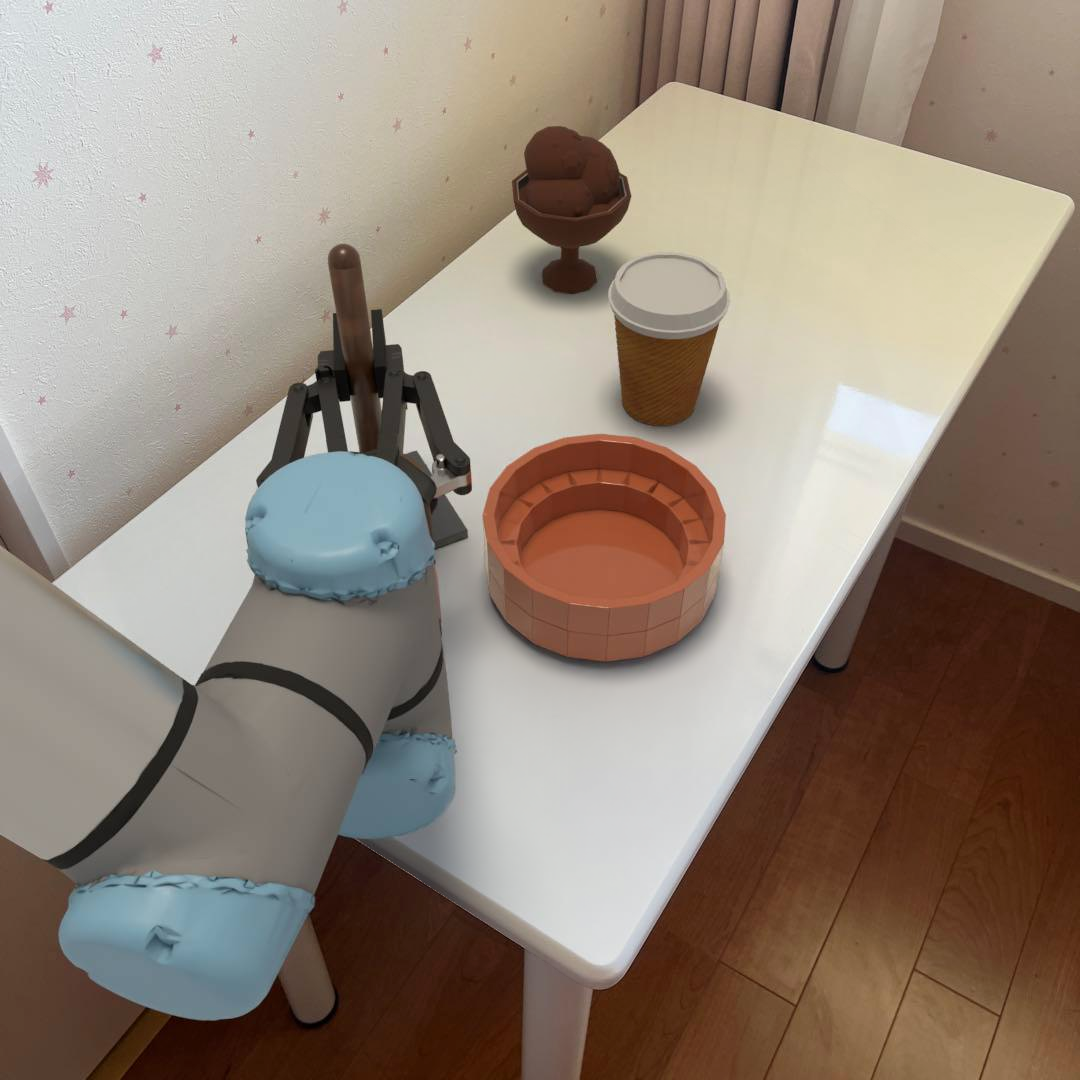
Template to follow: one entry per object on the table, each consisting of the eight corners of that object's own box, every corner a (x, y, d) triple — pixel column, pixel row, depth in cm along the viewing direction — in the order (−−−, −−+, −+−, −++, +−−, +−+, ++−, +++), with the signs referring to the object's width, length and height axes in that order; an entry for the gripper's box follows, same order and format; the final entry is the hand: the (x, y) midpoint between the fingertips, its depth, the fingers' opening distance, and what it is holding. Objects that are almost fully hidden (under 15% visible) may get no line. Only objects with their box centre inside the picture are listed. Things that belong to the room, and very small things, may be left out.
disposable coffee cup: (720, 439, 91) (739, 318, 82) (604, 439, 91) (611, 318, 82) (708, 367, 97) (724, 248, 89) (600, 367, 98) (606, 248, 89)
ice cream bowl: (565, 324, 102) (567, 174, 91) (491, 272, 108) (484, 125, 97) (648, 282, 106) (660, 134, 95) (573, 234, 112) (576, 89, 101)
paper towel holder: (355, 554, 81) (305, 290, 64) (323, 495, 86) (269, 232, 69) (442, 523, 83) (416, 259, 67) (407, 467, 88) (374, 205, 71)
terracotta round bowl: (552, 703, 73) (552, 643, 68) (451, 540, 83) (445, 477, 79) (759, 614, 78) (773, 553, 74) (640, 471, 88) (646, 408, 84)
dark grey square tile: (343, 582, 80) (342, 575, 80) (299, 496, 87) (297, 489, 86) (468, 536, 84) (467, 529, 83) (417, 457, 90) (416, 449, 89)
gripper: (249, 627, 65) (262, 377, 81) (503, 600, 66) (467, 359, 82) (222, 540, 59) (242, 291, 75) (499, 512, 61) (461, 273, 77)
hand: (359, 327), depth 79 cm, fingers closed on paper towel holder, 2 cm apart
